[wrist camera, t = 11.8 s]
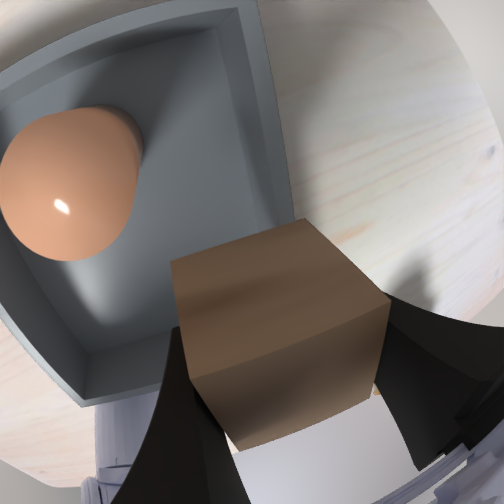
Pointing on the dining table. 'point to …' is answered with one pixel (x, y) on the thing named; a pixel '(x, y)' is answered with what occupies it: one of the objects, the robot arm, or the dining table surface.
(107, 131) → the terracotta cylinder
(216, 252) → the walnut block
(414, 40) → the dining table surface
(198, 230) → the tote
